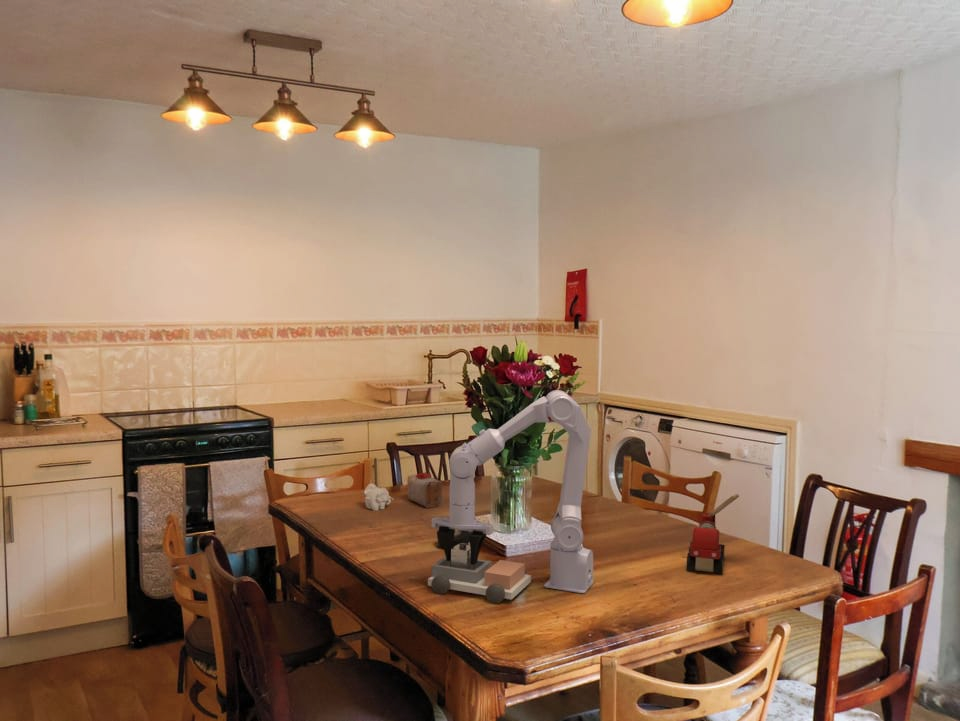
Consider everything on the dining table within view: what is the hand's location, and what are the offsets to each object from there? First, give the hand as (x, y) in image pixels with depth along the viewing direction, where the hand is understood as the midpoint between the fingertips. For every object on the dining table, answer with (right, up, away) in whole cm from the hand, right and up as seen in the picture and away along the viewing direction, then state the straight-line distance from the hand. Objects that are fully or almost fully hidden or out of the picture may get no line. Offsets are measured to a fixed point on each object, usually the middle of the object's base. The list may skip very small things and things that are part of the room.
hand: (461, 561), depth 184 cm
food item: (-13, 0, +73) cm, 75 cm away
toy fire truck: (+61, -5, +15) cm, 63 cm away
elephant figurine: (-27, 0, +67) cm, 72 cm away
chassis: (+4, -6, -1) cm, 7 cm away
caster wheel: (-1, -3, +31) cm, 31 cm away
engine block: (0, -3, +1) cm, 3 cm away
